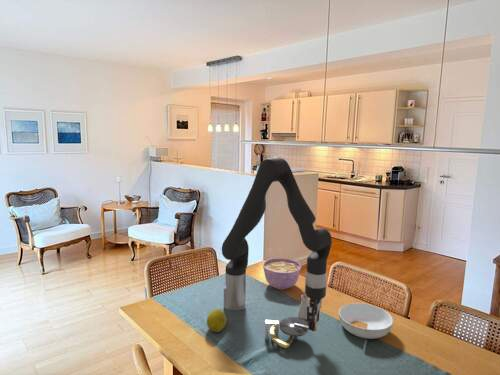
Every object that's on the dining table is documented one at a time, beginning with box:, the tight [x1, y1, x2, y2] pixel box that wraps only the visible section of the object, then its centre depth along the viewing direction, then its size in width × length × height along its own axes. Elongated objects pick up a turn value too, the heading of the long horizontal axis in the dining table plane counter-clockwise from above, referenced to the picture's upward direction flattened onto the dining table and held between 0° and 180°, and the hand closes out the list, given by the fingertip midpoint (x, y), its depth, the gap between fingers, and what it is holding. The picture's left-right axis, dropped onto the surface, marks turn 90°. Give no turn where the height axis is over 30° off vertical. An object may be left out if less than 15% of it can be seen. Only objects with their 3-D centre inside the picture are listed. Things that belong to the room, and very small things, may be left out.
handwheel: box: [269, 311, 318, 349], centre depth 129 cm, size 18×15×13 cm
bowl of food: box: [262, 257, 302, 290], centre depth 178 cm, size 20×20×12 cm
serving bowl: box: [338, 302, 394, 340], centre depth 139 cm, size 21×21×7 cm
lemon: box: [206, 308, 227, 333], centre depth 139 cm, size 11×8×8 cm
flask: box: [296, 294, 310, 320], centre depth 148 cm, size 7×7×10 cm
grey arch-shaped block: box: [264, 319, 280, 341], centre depth 131 cm, size 5×2×7 cm, turn 86°
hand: (313, 325), depth 127 cm, fingers open, 6 cm apart
